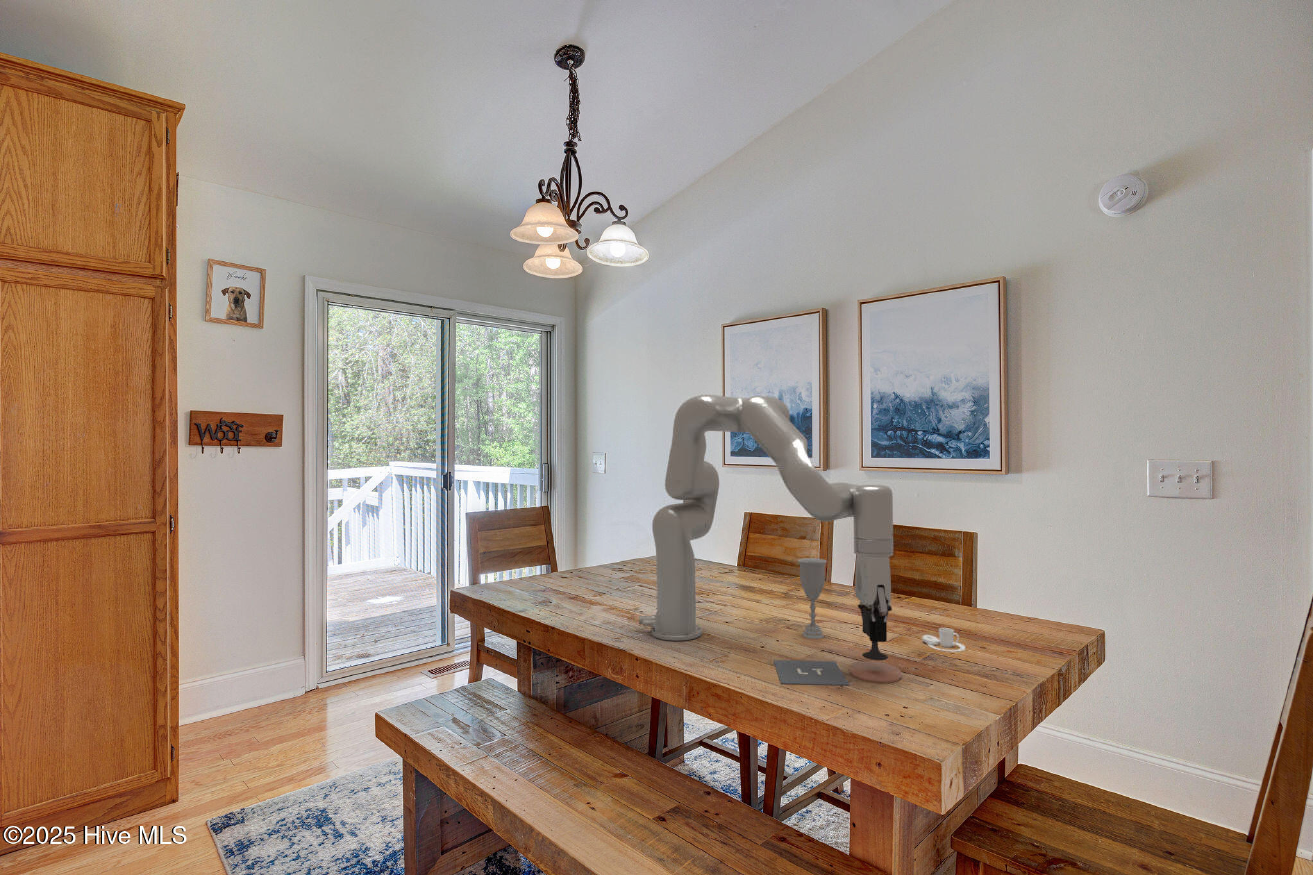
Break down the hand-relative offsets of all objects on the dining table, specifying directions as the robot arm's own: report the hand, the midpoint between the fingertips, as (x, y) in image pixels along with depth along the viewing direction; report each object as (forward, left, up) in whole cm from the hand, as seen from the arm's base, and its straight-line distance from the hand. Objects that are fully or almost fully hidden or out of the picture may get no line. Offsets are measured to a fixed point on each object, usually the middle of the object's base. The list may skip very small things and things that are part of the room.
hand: (874, 636), depth 128 cm
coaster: (0, 0, -8) cm, 8 cm away
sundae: (0, 0, -4) cm, 4 cm away
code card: (-13, 0, -8) cm, 15 cm away
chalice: (-8, +25, -8) cm, 27 cm away
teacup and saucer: (+21, +22, -8) cm, 31 cm away
